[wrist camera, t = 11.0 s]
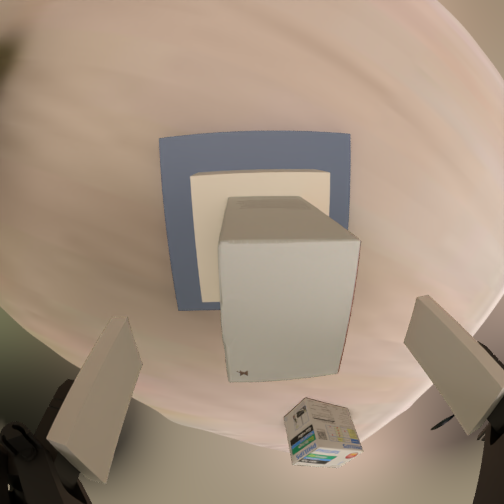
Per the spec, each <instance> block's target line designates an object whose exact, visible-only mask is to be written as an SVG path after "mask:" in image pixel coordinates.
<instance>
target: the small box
mask: <svg viewBox="0 0 504 504" xmlns="http://www.w3.org/2000/svg"><path fill="white" fill-rule="evenodd" d="M360 246H361V240H360V239H359V238H357V237H356V236H355V235H353V234H352V233H351V232H349V231H348V230H347V229H345V228H344V227H343V226H341V225H340V224H339V223H337V222H336V221H334V220H333V219H331V218H330V217H329V216H327V215H326V214H325V213H323V212H322V211H320V210H319V209H318V208H316V207H315V206H313V205H312V204H311V203H309V202H307V201H306V200H305V199H303V198H302V197H300V196H239V197H228V200H227V205H226V209H225V213H224V218H223V222H222V227H221V231H220V236H219V241H218V272H219V291H220V309H221V328H222V339H223V343H224V349H225V359H226V368H227V375H228V381H229V382H266V381H280V380H292V379H301V378H310V377H318V376H325V375H331V374H337V373H338V372H339V368H340V364H341V360H342V355H343V351H344V346H345V342H346V337H347V332H348V326H349V321H350V316H351V310H352V305H353V299H354V292H355V286H356V279H357V271H358V264H359V256H360Z"/></svg>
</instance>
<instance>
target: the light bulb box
mask: <svg viewBox="0 0 504 504" xmlns="http://www.w3.org/2000/svg"><path fill="white" fill-rule="evenodd" d="M284 421H285V427H286V432H287V438H288V444H289V449H290V455H291V461H292V465H299V466H316V467H332V468H339V467H341V466H342V465H344V464H346V463H347V462H349V461H350V460H352V459H353V458H355V457H356V456H358V455H360V454H361V453H362V452H363V449H362V446H361V443H360V440H359V438H358V435H357V432H356V430H355V427H354V424H353V422H352V419H351V416H350V414H349V411H348V408H343V407H339V406H335V405H331V404H327V403H323V402H319V401H315V400H312V399H308V398H305V399H304V400H303V401H302V402H300V403H299V404H298V405H297V406H296V407H295V408H294V409H293V410H292V411H291V412H289V413H288V414H287V415H286V416H285V417H284Z"/></svg>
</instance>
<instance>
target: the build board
mask: <svg viewBox="0 0 504 504" xmlns="http://www.w3.org/2000/svg"><path fill="white" fill-rule="evenodd" d="M159 148H160V165H161V180H162V192H163V203H164V213H165V222H166V231H167V239H168V247H169V254H170V261H171V268H172V275H173V281H174V287H175V294H176V299H177V305H178V311H189V310H221V309H220V291H219V272H218V241H219V236H220V231H221V227H222V222H223V218H224V213H225V209H226V205H227V200H228V197H239V196H300V197H302V198H303V199H305V200H306V201H307V202H309V203H311V204H312V205H313V206H315V207H316V208H318V209H319V210H320V211H322V212H323V213H325V214H326V215H327V216H329V217H330V218H331V219H333V220H334V221H336V222H337V223H339V224H340V225H341V226H343V227H344V228H345V229H347V230H348V221H349V202H350V157H351V154H350V134H345V133H331V132H312V131H238V132H219V133H205V134H193V135H183V136H174V137H166V138H159Z"/></svg>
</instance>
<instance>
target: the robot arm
mask: <svg viewBox="0 0 504 504" xmlns="http://www.w3.org/2000/svg"><path fill="white" fill-rule="evenodd" d="M404 344H405V345H406V346H407V348H408V349H409V350H410V352H411V353H412V354H413V356H414V357H415V358H416V360H417V361H418V363H419V364H420V365H421V367H422V368H423V369H424V371H425V372H426V374H427V375H428V377H429V378H430V379H431V381H432V382H433V384H434V385H435V386H436V388H437V389H438V391H439V392H440V394H441V395H442V397H443V398H444V400H445V401H446V403H447V404H448V406H449V407H450V409H451V410H452V412H453V413H454V415H455V416H456V418H457V419H458V421H459V423H460V424H461V426H462V427H463V429H464V431H465V432H466V434H467V435H469V434H471V433H473V432H474V431H476V430H477V429H479V428H480V427H481V426H482V424H483V423H484V422H485V421H486V419H487V420H488V421H489V423H488V425H487V426H486V427H485V428H484V430H483V431H482V432H481V433H480V434H479V435H478V438H477V440H479V439H480V438H481V437H482V436H483V435H484V434H485V436H484V437H483V439H482V441H485V442H484V451H483V457H482V463H481V469H480V475H479V479H478V485H477V489H476V493H475V497H474V500H473V504H504V365H503V364H502V362H500V361H498V358H497V357H496V356H495V355H493V353H492V352H491V351H490V350H489V349H488V348H487V347H486V346H485V345H483V344H481V343H480V342H478V341H476V340H475V339H474V338H473V337H472V336H471V335H470V334H469V333H468V332H467V331H466V330H465V329H464V328H463V327H462V326H461V325H460V324H459V323H458V322H457V321H456V320H455V319H454V318H453V317H452V316H451V315H449V314H448V313H447V312H446V311H445V310H444V309H443V308H442V307H441V306H440V305H439V304H438V303H437V302H435V301H434V300H433V299H432V298H431V297H430V296H429V295H426V296H420V297H417V299H416V303H415V306H414V310H413V314H412V317H411V321H410V324H409V327H408V331H407V334H406V337H405V340H404ZM142 365H143V364H142V361H141V358H140V355H139V352H138V349H137V346H136V343H135V340H134V337H133V334H132V331H131V328H130V324H129V321H128V317H112V318H111V319H110V321H109V323H108V324H107V326H106V328H105V329H104V331H103V332H102V334H101V336H100V337H99V339H98V341H97V342H96V344H95V346H94V347H93V349H92V351H91V353H90V354H89V356H88V358H87V359H86V361H85V363H84V365H83V367H82V368H81V370H80V372H79V374H78V376H77V378H76V379H75V380H70V379H68V380H66V381H65V382H64V383H63V384H62V385H61V386H60V387H59V388H58V390H57V392H56V394H55V395H54V399H52V401H51V403H50V404H49V407H48V408H47V410H46V412H45V414H44V416H43V418H42V420H41V422H40V424H39V426H38V428H37V430H36V432H35V434H34V435H33V434H32V433H31V431H30V430H29V429H28V428H27V427H26V426H25V425H24V424H23V423H20V422H11V423H9V424H7V425H6V426H5V427H4V428H3V429H2V431H1V433H0V504H92V502H91V501H90V499H89V497H88V495H87V493H86V491H85V489H84V487H83V485H82V483H81V482H80V480H79V479H78V477H79V473H81V474H82V475H83V476H85V477H86V478H87V479H89V480H92V481H96V482H99V483H103V484H106V482H107V478H108V474H109V470H110V466H111V463H112V459H113V455H114V452H115V448H116V445H117V441H118V438H119V435H120V431H121V428H122V425H123V421H124V418H125V415H126V412H127V408H128V406H129V402H130V399H131V397H132V393H133V391H134V388H135V385H136V382H137V379H138V376H139V373H140V370H141V367H142ZM8 484H9V485H10V490H8Z"/></svg>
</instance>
